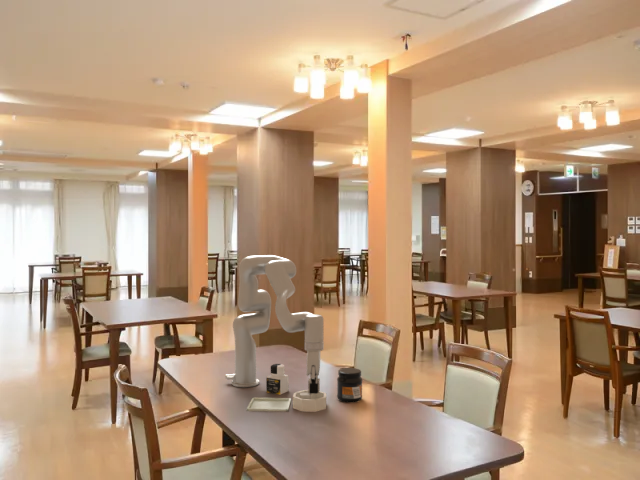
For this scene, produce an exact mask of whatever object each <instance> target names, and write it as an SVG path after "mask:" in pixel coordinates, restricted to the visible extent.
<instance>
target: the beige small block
mask: <svg viewBox="0 0 640 480" xmlns="http://www.w3.org/2000/svg"><path fill="white" fill-rule="evenodd" d="M320 380H321V379H320V378H319V377H318V378H317V383H318V393H319V392H320V391H321V390H320V389H321V387H320V384H321V383H320V382H321V381H320ZM307 384H308V385H307V387H308V388H307V390H308V393H310V377H309V378H308V380H307Z"/></svg>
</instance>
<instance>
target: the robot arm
mask: <svg viewBox="0 0 640 480" xmlns="http://www.w3.org/2000/svg"><path fill="white" fill-rule="evenodd" d="M296 274H297V267H296V264H295V262H294V261H292V260H291V259H288V258H285V257H281V256H278V255H273V254H267V255H266V254H264V255H257V254H256V255H249V256H245V257H243V258H242V259H241V261H240V262H239V265H238V277H239V286H238V287H239V288H238V299H237V306H238V309H239V311H241V312H242V313H245V314H240V315H238V316H237V317H236V316H235V318H234V319H233V321H232V330H233V335H234V373H232V374H231V373H230V374H228V373H226V374H225V379H226V380H232V381H231V385H232V386H234V387H235V388H236V387H237V388H252V387H255V386H256V387H257V386H258V385H259V384H260V380H259V379H258V378H257V343H256V341H255V339H254V337H253V335H258V334H262V333H266V332H267V331H268V329H269V328H270V323H271V322H270V321H271V311H272V298H271V295H270V293H269V292H268V291H267V290H266V289H259V280H258V278H257V276H259V275H266V277H267V279H268V281H269V284H270V286H271V287H272V290H273V291H274V293H275V295H276V300H275V305H274V306H275V309H274V310H275V316H276V319H277V320H278V322H279V324H280V327H281V328H282V329H283V330H284V331H285V332H287V333H291V334H292V333H297V332H303V331H304V350H305V352H306V376H307V377H308V376H310V377H309V378H310V393H315V394H317V393H318V383H317V378H319V377H318V376H319V375H320V371H321V351H324V343H325V342H324V326H325V325H324V321H325V319H324V316H323V315H321V314H316V313H315V314H314V313H312V312H309V311H301V312H300V311H299V312H298V311H297V312H294V313H291V311H290V310H289V307H288V303H287V299H289V298H291V296H293V295H294V294H295V292H296V287H295V285H294V283H293V281H292V279H293V278H294V277H295V276H296ZM250 312H251V313H250ZM252 312H255V313H252Z"/></svg>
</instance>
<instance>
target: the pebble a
mask: <svg viewBox="0 0 640 480" xmlns="http://www.w3.org/2000/svg"><path fill="white" fill-rule="evenodd" d="M300 398H301V399H311V393H300Z"/></svg>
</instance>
